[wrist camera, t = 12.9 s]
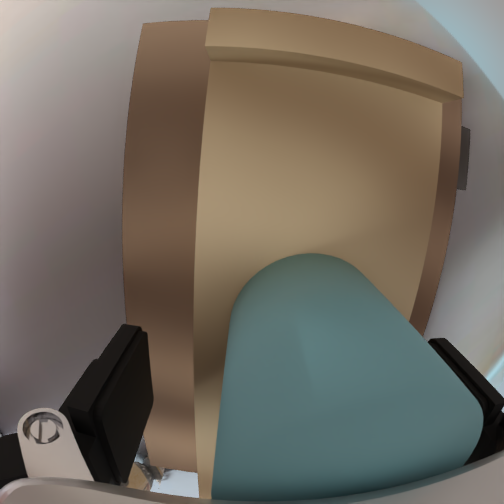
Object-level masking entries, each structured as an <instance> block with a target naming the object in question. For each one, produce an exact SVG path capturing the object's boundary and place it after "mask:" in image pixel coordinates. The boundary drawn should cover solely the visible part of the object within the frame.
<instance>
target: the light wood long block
mask: <svg viewBox="0 0 504 504" xmlns="http://www.w3.org/2000/svg"><path fill="white" fill-rule="evenodd" d="M205 48H206V50H207V53H208V56H209V58H210V61H211V62H210V70H209V78H208V86H207V95H206V105H205V115H204V125H203V136H202V147H201V159H200V173H199V187H198V203H197V221H196V242H195V269H194V317H193V364H194V410H195V435H196V455H197V471H198V485H199V498H202V499H212V498H211V488H212V478H213V468H214V458H215V449H216V439H217V430H218V420H219V411H220V402H221V393H222V384H223V375H224V367H225V358H226V349H227V341H228V332H229V324H230V317H231V312H232V308H233V305H234V302H235V300H236V298H237V296H238V294H239V293H240V291H241V290H242V288H243V287H244V286H245V284H246V283H247V282H248V281H249V280H250V279H251V278H252V277H253V276H254V275H255V274H256V273H257V272H259V271H260V270H262V269H263V268H265V267H266V266H268V265H269V264H271V263H273V262H275V261H277V260H280V259H283V258H286V257H289V256H293V255H298V254H307V253H317V254H325V255H331V256H334V257H337V258H340V259H342V260H344V261H346V262H348V263H350V264H351V265H353V266H354V267H356V268H357V269H358V270H359V271H360V272H361V273H362V274H363V275H364V276H365V277H366V278H367V279H368V280H369V281H370V282H371V283H372V284H373V285H374V286H375V287H376V288H377V289H378V290H379V291H380V292H381V293H382V294H383V295H384V296H385V297H386V298H387V299H388V300H389V301H390V302H391V303H392V304H393V306H394V307H395V308H396V309H397V310H398V311H399V312H400V313H401V314H402V315H403V316H404V317H405V318H406V319H407V320H408V322H409V320H410V317H411V313H412V310H413V306H414V302H415V299H416V295H417V291H418V287H419V283H420V279H421V275H422V270H423V266H424V261H425V257H426V252H427V247H428V242H429V236H430V231H431V225H432V219H433V213H434V206H435V199H436V191H437V183H438V173H439V163H440V150H441V133H442V103H446V102H450V101H454V100H458V99H462V98H464V94H463V71H462V62H460V61H458V60H455V59H453V58H451V57H449V56H446V55H444V54H442V53H439V52H437V51H434V50H432V49H429V48H427V47H424V46H421V45H419V44H416V43H413V42H410V41H408V40H405V39H402V38H399V37H396V36H392V35H389V34H386V33H383V32H379V31H376V30H372V29H368V28H365V27H361V26H357V25H353V24H348V23H344V22H340V21H335V20H330V19H325V18H319V17H314V16H308V15H301V14H294V13H287V12H278V11H268V10H257V9H240V8H211V9H210V15H209V22H208V28H207V35H206V41H205Z"/></svg>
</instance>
